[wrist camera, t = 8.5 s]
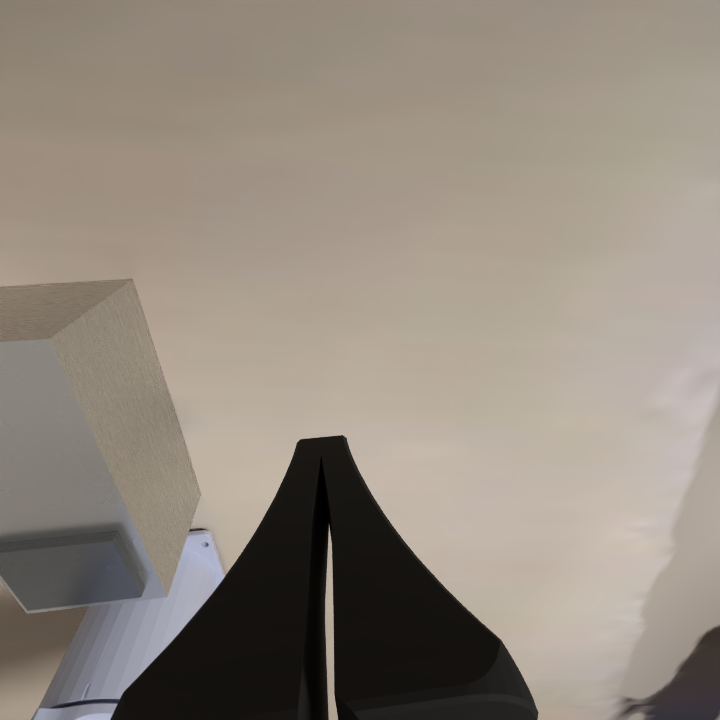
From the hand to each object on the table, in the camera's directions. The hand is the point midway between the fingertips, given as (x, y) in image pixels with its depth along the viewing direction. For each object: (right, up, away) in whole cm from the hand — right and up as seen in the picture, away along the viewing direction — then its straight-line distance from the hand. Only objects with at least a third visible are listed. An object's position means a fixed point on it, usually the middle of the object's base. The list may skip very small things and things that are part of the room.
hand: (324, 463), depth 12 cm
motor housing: (-16, 0, +9) cm, 18 cm away
